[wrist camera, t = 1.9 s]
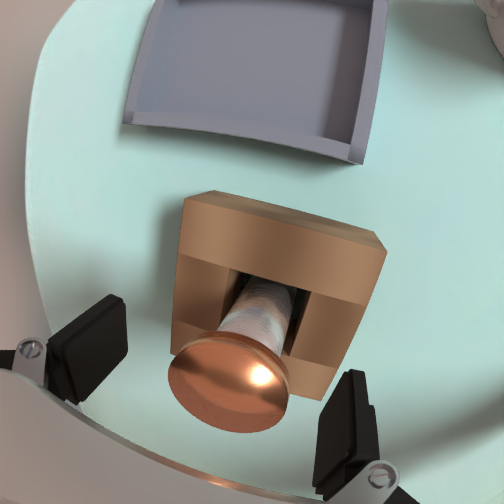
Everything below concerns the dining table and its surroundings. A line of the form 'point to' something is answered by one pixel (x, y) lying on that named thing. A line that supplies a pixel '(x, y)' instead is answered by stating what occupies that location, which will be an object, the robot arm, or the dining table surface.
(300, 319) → the hitch block
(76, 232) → the dining table surface
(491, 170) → the dining table surface
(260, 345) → the pin
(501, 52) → the cup
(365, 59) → the tray
